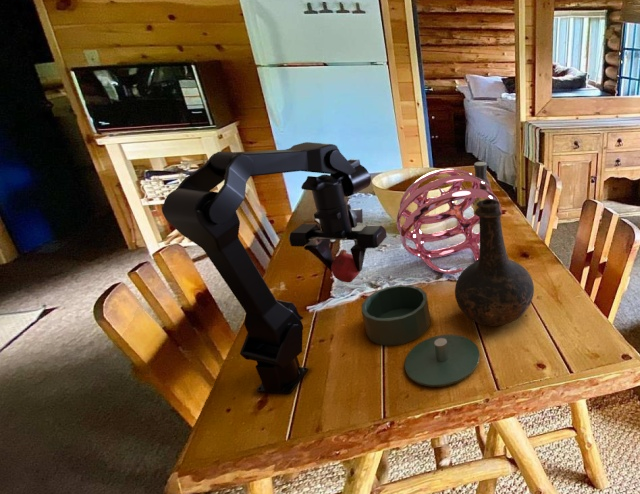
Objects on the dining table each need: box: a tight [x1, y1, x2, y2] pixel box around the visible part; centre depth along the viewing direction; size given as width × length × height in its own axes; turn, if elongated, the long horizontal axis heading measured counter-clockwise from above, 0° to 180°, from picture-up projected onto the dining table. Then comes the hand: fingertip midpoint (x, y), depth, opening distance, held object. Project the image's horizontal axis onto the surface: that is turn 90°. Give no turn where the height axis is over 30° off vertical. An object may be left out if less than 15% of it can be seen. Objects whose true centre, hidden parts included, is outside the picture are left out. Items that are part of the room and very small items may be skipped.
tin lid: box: [404, 334, 481, 388], centre depth 87 cm, size 15×15×5 cm
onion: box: [331, 249, 360, 284], centre depth 96 cm, size 6×6×8 cm
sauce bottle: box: [472, 161, 492, 216], centre depth 147 cm, size 7×6×20 cm
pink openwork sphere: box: [396, 168, 503, 275], centre depth 118 cm, size 28×28×27 cm
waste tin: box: [361, 284, 431, 347], centre depth 97 cm, size 14×14×6 cm
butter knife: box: [313, 217, 336, 243], centre depth 144 cm, size 1×24×3 cm
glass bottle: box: [454, 199, 535, 327], centre depth 96 cm, size 18×18×28 cm
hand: (346, 270), depth 97 cm, fingers closed on onion, 6 cm apart
